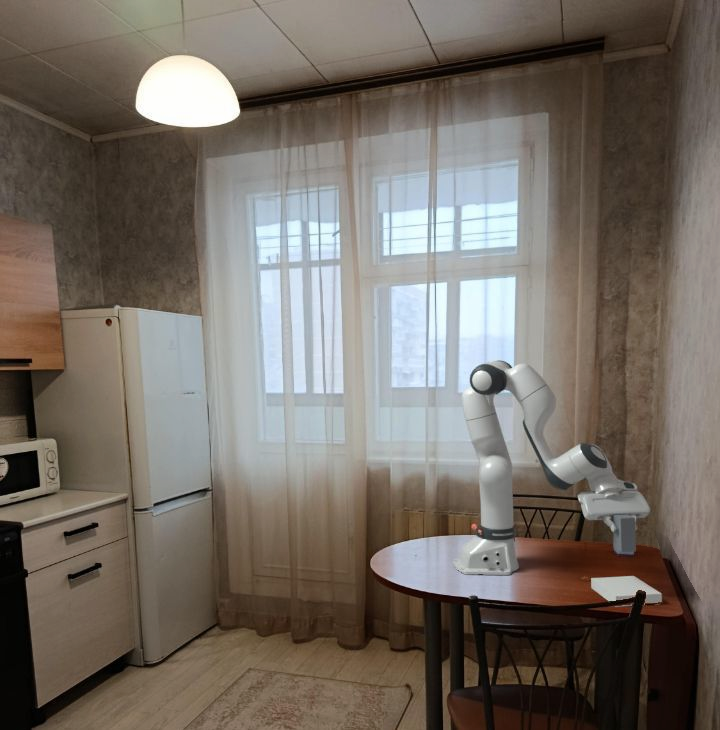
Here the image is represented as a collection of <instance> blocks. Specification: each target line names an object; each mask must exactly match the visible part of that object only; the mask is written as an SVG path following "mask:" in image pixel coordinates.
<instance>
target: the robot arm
mask: <svg viewBox="0 0 720 730" xmlns="http://www.w3.org/2000/svg"><path fill="white" fill-rule="evenodd" d="M469 385H470V386H469V387H467V388H466V389H465V390H464V391H463V392H462V393H461V404H462V410H463V415H464V420H465V423H466V427H467V430H468V434H469V438H470V440H471V441H470V442H471V443H472V445H473V448H474V451H475V454H476V457H477V460H478V463H479V467H478V468H479V469H478V480H479V484H478V486H479V497H480V498H479V499H480V524H479V525H477V524H476V523H473V524H472V525H471V529H472V530H473V531H474V532H475V535H474V536H473V537H471V538H470V539H469V540H467V541H466V542H465V543H463V544H462V546H461V548H460V550H459V557H456V558H454V559H453V563H452V564H454V565H453V567H454V566H455V567H456V568H455V567H454V568H455V569H456V570H457V571H458V570H459V571H458V572H459V573H461V572H462V573H461V574H464V575H478V574H483V575H484V576H485V575H488V576H491V575H494V576H510V575H511V574H512V573H513V572H515V571H517V570H519V568H520V563H519V561H518V558H517V552H516V546H515V542H516V530H515V527H516V526H515V525H514V501H513V500H514V498H513V497H514V496H513V491H514V490H513V462H512V459H511V456H510V453H509V450H508V447H507V444H506V441H505V438H504V434H503V431H502V428H501V425H500V422H499V417H498V413H497V411H496V408H495V404H494V403H495V402H494V399H495V398H494V397H495V395H499V394H500V393H501V392H504V391H508V392H510V393H511V394H512V395H513V396H514V397H515V399H516V401H517V402H518V404H519V405H520V407H521V409H522V411H523V415H524V416H523V417H524V418H523V421H522V426H523V428H524V431H525V434H526V436H527V438H528V440H529V442H530V445H531V447H532V448H533V451H534V453H535V455H536V457H537V459H538V460H539V461H538V462H539V463H540V466H541V468H542V471H543V473H544V476H545V478H546V480H547V482H548V483H549V485H550V486H551V487H552V488H554V489H557V490H562V491H567V490H568V489H570V488H572V487H573V486H574V485H575V484H577V483H578V482H580V481H582V480H584V479H587V481H588V486H589V489H590V491H580V493H578V494H577V499H578V502H579V503H580V505H581V506H580V507H581V511H582V514H583V516H584V519H586V520H588V521H600V520H601V521H603V522H604V524H606V526H608V527H609V528H610V530H611V532H612V533H613V532H617V531H618V530H619V528H618V527H617V524H614V523H613V516H612V515H621V514H628V515H630V516H632V517H635V532H636V531H637V530H638V525H637V519H640V518H641V519H643V518H645V519H646V517H648V515H649V514H650V512H651V507H650V506H649V503H648V501H647V499H646V498H645V497H644V495H643V494H642V493H641V492H640V491H638V485H637V484H636V483H634V482H633V483H632V482H629V481H624V480H622V479H618V477H617V476H616V474H615V473H614V472H613V468H612V464H611V463H610V461H609V460H608V458H607V456H606V454H605V453H604V451H603V450H602V449H601V447H600V446H598V445H596V444H593V443H586V442H585V443H584V442H581V443H579V444H577V445H575V446H574V447H572V448H570V449H569V450H568V451H566V452H565V453H563V454H561V455H559V456H558V457H555V456H554V455H553V453H552V451H551V448H550V447H549V445H548V443H547V441H546V438H545V436H544V429H545V426H546V424H547V423H548V421H549V420H550V419H551V417H552V416H553V413H554V412H555V410H556V406H557V397H556V395H555V393H554V392H553V390H552V389H551V387H550V385H549V384H548V383H547V381H546V380H545V379H543V377H542V376H541V375H540V374H539V373H538V372H537V371H536V370H535V369H534V368H533V367H532V366H531V365H530V364H528V363H519V364H516V365H514V366H512V365H511V364H510V363H509V362H507V361H505V360H501V359H500V360H499V359H498V360H490V361H487V362H484V363H482V364H479V365H477V366H476V367H475V368H474V369H473V370H472V372H471V373H470V375H469Z"/></svg>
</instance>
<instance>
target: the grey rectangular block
mask: <svg viewBox="0 0 720 730" xmlns="http://www.w3.org/2000/svg"><path fill="white" fill-rule="evenodd" d="M612 516H613V519H612V522H613V523H614V524H617V527H618V528H619V530H618V531H617V532H612V542H613V543H612V544H613V545H612V546H613V547H612V548H613V549H614V548H615V549H617V550H619V551H621V552H633V551H634V552H637V550H636V549H637V543H636V542H637V541H636V535H637V534H636V531H635V517H632V516H630V515H628V514H621V515H612Z"/></svg>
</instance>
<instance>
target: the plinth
mask: <svg viewBox="0 0 720 730" xmlns="http://www.w3.org/2000/svg"><path fill="white" fill-rule="evenodd" d="M590 580H591V581H590V585H591V586H590V588H591V589H592V590H593V591H594V592H596V593H597V594H599V595H600V596H601V597H603V598H604V599H605V600H607V601H608V602H609V601H616V600H623V599H629V598H632V597H635V595H636V592H637V591H638V590H642V591H645V592H646V599H645V603H658V602H662V603H663V593H661V591H658V590H657V589H655V588H653V587H652V586H650V585H648V584H647V583H645V582H644V581H642V580H641V579H639V578H638V577H636V576H634V575H627V576H626V575H623V576H610V577H609V576H607V577H591V578H590ZM645 603H644V605H643V606H646V605H645ZM615 607H616V608H619V607H633V606H632V604H631V605H622V606H615Z"/></svg>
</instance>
